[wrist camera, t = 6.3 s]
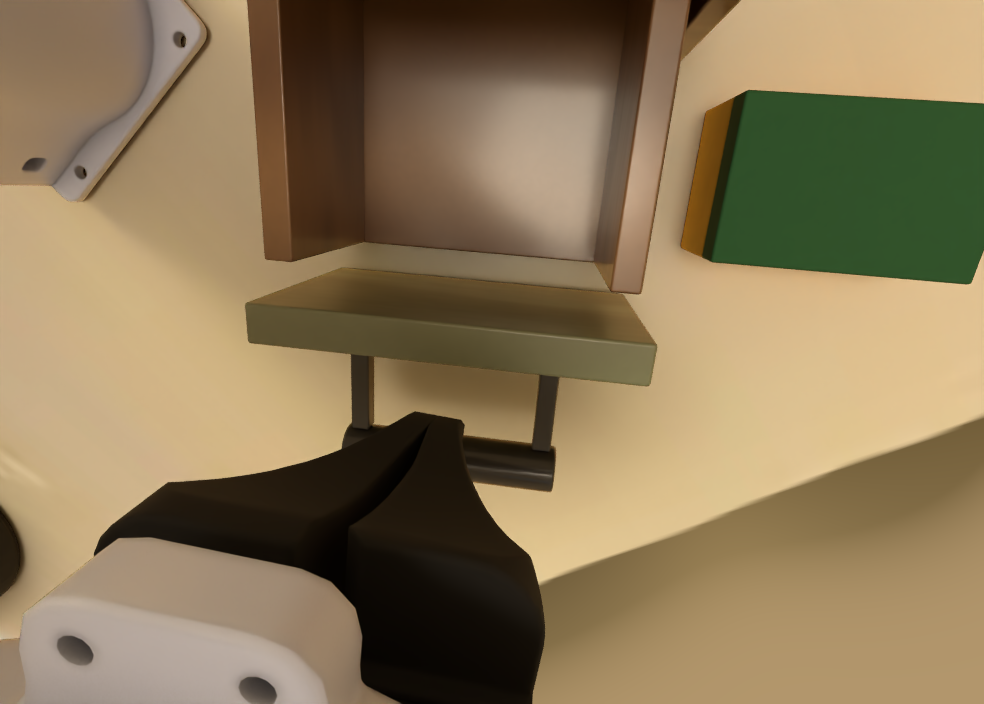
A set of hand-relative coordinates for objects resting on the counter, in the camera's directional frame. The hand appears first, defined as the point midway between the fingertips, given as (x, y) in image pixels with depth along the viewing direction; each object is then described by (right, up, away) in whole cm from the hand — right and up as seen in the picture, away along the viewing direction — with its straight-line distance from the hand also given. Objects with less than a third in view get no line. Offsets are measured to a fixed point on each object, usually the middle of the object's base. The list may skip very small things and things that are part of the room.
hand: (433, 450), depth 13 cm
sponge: (+13, +8, +5) cm, 16 cm away
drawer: (+1, +8, +6) cm, 10 cm away
